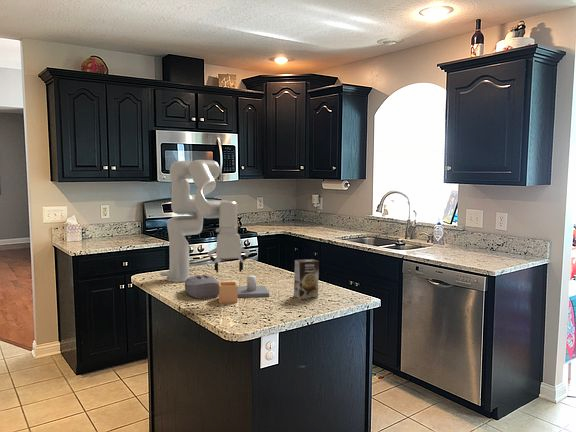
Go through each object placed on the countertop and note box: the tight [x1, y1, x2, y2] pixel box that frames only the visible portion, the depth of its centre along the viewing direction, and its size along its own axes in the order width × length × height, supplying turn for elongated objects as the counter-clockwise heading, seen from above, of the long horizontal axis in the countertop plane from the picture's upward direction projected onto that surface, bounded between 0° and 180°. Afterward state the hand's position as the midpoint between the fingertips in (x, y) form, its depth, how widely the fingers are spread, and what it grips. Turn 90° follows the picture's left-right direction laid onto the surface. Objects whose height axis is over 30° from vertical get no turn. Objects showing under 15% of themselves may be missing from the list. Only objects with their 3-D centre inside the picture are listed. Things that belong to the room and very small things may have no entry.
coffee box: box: [293, 258, 320, 300], centre depth 207 cm, size 9×6×16 cm
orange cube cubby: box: [218, 281, 239, 304], centre depth 200 cm, size 7×7×7 cm
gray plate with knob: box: [238, 275, 270, 298], centre depth 212 cm, size 14×14×8 cm
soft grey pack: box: [184, 274, 220, 300], centre depth 211 cm, size 15×8×20 cm
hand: (228, 271), depth 199 cm, fingers open, 9 cm apart
